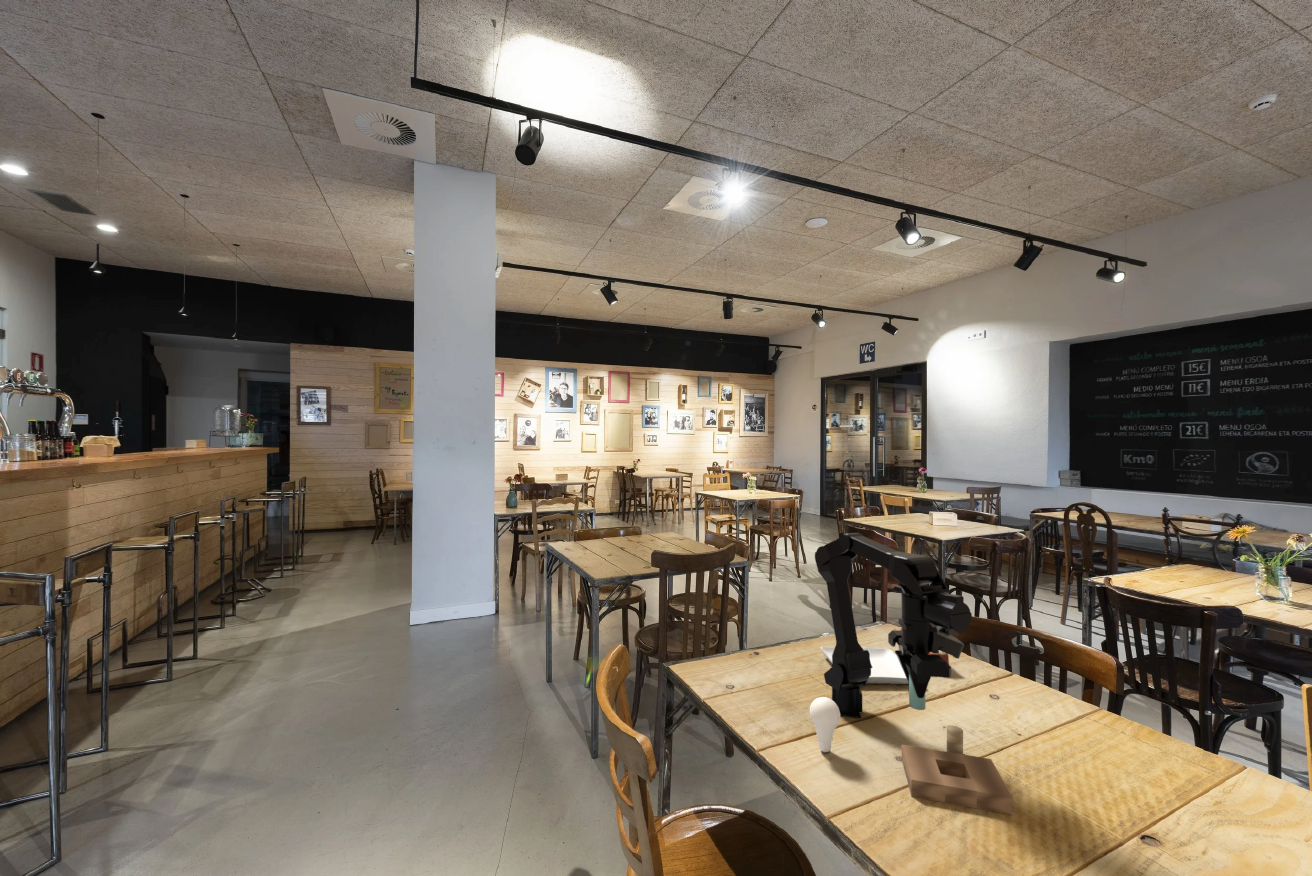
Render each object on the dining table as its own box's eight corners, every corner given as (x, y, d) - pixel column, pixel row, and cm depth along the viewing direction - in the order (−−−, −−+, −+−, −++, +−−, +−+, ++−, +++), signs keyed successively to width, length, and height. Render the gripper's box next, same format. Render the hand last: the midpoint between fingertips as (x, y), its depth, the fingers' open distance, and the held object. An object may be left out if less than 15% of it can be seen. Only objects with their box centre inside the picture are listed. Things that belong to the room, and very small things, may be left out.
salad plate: (922, 690, 140) (922, 677, 140) (842, 688, 141) (842, 675, 141) (888, 658, 162) (888, 647, 162) (818, 657, 162) (819, 646, 162)
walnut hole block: (911, 796, 97) (911, 779, 97) (901, 759, 108) (901, 744, 108) (1012, 814, 92) (1012, 797, 92) (991, 774, 103) (991, 758, 104)
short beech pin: (948, 755, 110) (948, 731, 110) (945, 748, 113) (945, 724, 113) (964, 758, 109) (964, 733, 109) (961, 750, 112) (961, 726, 112)
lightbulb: (840, 746, 113) (840, 694, 113) (840, 762, 107) (840, 707, 107) (810, 741, 115) (810, 689, 115) (808, 756, 109) (808, 702, 109)
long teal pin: (910, 708, 108) (910, 669, 109) (908, 702, 111) (907, 663, 112) (926, 710, 108) (926, 671, 108) (923, 704, 110) (923, 665, 111)
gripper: (980, 634, 100) (981, 719, 99) (939, 606, 118) (940, 677, 118) (917, 632, 101) (918, 715, 101) (887, 604, 120) (887, 674, 119)
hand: (917, 694), depth 109 cm, fingers closed on long teal pin, 3 cm apart
